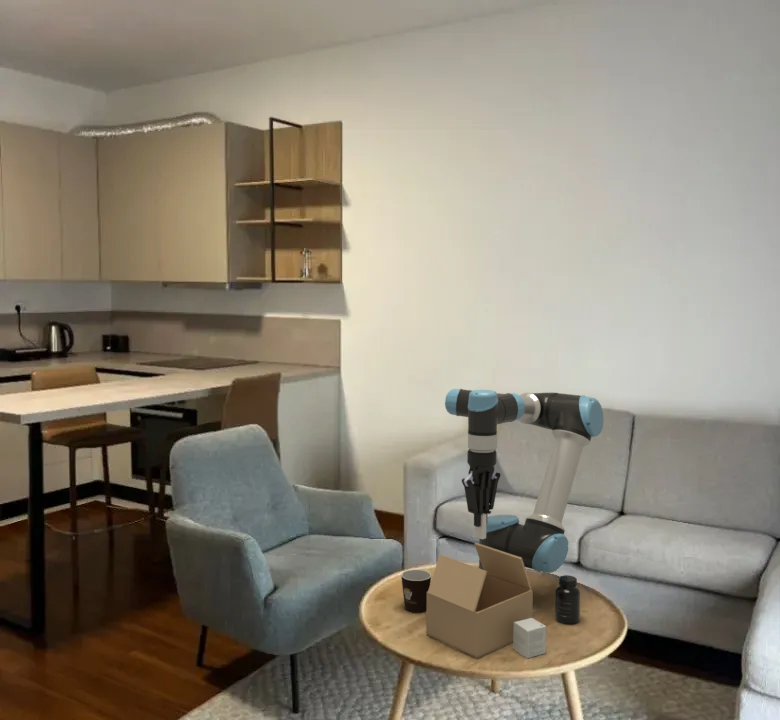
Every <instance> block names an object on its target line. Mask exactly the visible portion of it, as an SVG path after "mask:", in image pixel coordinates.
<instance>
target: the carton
mask: <svg viewBox="0 0 780 720" xmlns="http://www.w3.org/2000/svg"><path fill="white" fill-rule="evenodd" d="M533 593H534V591H533V590H532V589H527V588H525V587H522V586H519V585H516V584H514V583H511V582H508V581H506V580H503V579H500V578H497V577H495V576H492V575H489V574H486V577H485V580H484V584H483V587H482V590H481V594H480V597H479V600H478V604H477V607H476V610H475V612H473V611H470V610H468V609H465V608H463V607H461V606H458V605H456V604H453V603H451V602H449V601H446V600H444V599H442V598H439V597H437V596H434V595H432V594H430V593H428V592H427V610H426V617H425V618H426V623H425V624H426V627H425V628H426V629H425V630H426V631H425V632H426V633H425V634H426V636H427V637H429V638H431V639H432V640H435V641H437V642H439V643H441V644H444V645H445V646H447V647H450V648H452V649H453V650H455V651H458V652H460V653H462V654H464V655H466V656H469V657H471V658H473V659H475V660H479V659H481V658H484V657H485V656H487V655H490V654H492V653H493V652H497V651H498V650H500V649H503V648H505V647H506V646H508V645H510V644H513V632H514V622H517V621H521V620H525V619H529V618H533V605H534V604H533V603H534V602H533V600H534V598H533V597H534V594H533Z"/></svg>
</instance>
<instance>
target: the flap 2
mask: <svg viewBox="0 0 780 720" xmlns="http://www.w3.org/2000/svg"><path fill="white" fill-rule="evenodd" d="M474 547H475V550H476V552H477V556H478V560H479V559H480V562H481V564H482V567H483V570H485V571H487V574H489V575H492V576H495V577H497V578H500V579H503V580H506V581H508V582H511V583H514V584H516V585H519V586H522V587H525V588H527V589H530V590H532V586H531V582H530V579H529V576H528V573H527V572H528V571H527V570H526V567H525V566H524V563H523V560H522V558H521V557H518V556H515V555H512V554H509V553H506V552H503V551H500V550H497V549H494V548H491V547H488V546H485V545H482V544H479V542H475V543H474Z"/></svg>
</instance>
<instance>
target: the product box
mask: <svg viewBox="0 0 780 720" xmlns="http://www.w3.org/2000/svg"><path fill="white" fill-rule="evenodd" d="M512 648H513V650H514V651H515V652H517V653H519V654H520V655H521V656H523V657H525V658H526V659H530V658H534V657H537V656H540V655H544V654H546V653H547V625H545V624H543V623H541V622H540V621H538V620H536V619H535V618H533V617H532V618H529V619H525V620H521V621H517V622H514V632H513V643H512Z"/></svg>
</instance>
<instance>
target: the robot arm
mask: <svg viewBox="0 0 780 720" xmlns="http://www.w3.org/2000/svg"><path fill="white" fill-rule="evenodd" d="M444 406H445V409H446V412H447V413H448V414H450V415H452V416H456V417H463V418H467V424H468V425H467V427H468V428H467V448H468V450H467V453H466V454H467V458H466V459H467V460H466V461H467V464H468V466H469V470H468V475H467V477H466V478H461V483H462V485H463V488H464V493H465V499H466V500H465V501H466V506H467V511H468V513H471V514H473V526H474V538H477V539H479V540H478V541H479V542H478V543H479V544H482V545H485V546H488V547H491V548H494V549H497V550H500V551H503V552H506V553H509V554H512V555H515V556H518V557H521V558H522V560H523V563H524V566H525V568H527V569H532V570H534V571H536V572H542V573H547V574H550V573H554V572H556V571H557V570H558V569H560V568H561V566H562V565H563V563H564V562H565V560H566V558H567V556H568V552H569V547H568V546H569V540H568V538H567V536H566V535H565V533H566V532H565V531H566V529H565V527H564V526H563V520H564V517H565V513H566V512H565V511H566V509H567V505H568V502H569V498H570V495H571V492H572V488H573V485H574V481H575V477H576V473H577V471H578V468H579V467H578V466H579V462H580V460H581V457H582V452H583V449H584V447H586V446H588V445H590V443H591V439H592V438H593V437H598V436H600V434H601V432H602V431H603V426H604V411H603V408H602V405H601V403H600V401H599V400H598V399H596V397H592V396H586V395H576V394H569V393H559V392H523V393H521V394H518V393H515V392H510V393H509V392H506V393H500V392H497V391H495V390H492V389H491V390H490V389H476V390H473V389H472V390H470V389H463V388H452V389H450V390H449V391H448V392H447V394H446V395H445V401H444ZM514 421H518V422H520V423H521V424H524V425H532V426H536V427H538V428H543V429H546V430H551V434H552V436H553V437H554V442H553V446H552V448H551V452H550V455H549V458H548V463H547V465H546V468H545V469H546V470H545V472H544V475H543V479H542V482H541V486H540V489H539V492H538V496H537V498H536V499H537V500H536V502H535V506H534V510H533V513H532V515H528V516H527V517H526V518H525V522H524V523H523V524H520V519H519V517H518V516H516V515H513V514H495V515H490V514H492V510H493V509H494V506H495V503H496V502H495V500H496V497H497V489H498V485H499V484H498V483H499V481H500V478H501V473H500V472H497V471H495V467H494V466H496V465H497V451H496V449H497V448H498V447H497V446H498V444H497V443H498V441H497V440H498V437H497V435H498V433H497V432H498V425H500V424H506V423H512V422H514ZM488 515H489V516H488ZM478 564H479V565H478V567H477V568H479V569H482V570H483V567H482V564H481V562H480V559H479V558H478Z"/></svg>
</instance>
